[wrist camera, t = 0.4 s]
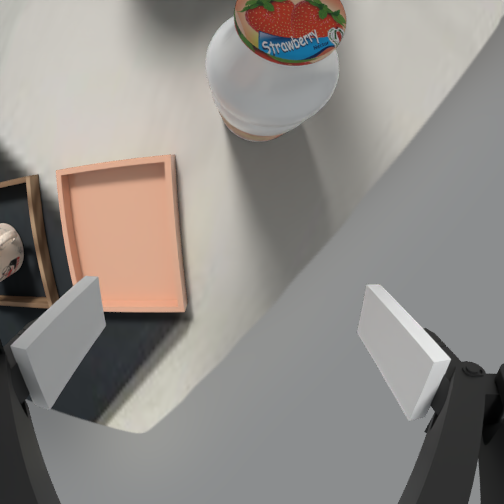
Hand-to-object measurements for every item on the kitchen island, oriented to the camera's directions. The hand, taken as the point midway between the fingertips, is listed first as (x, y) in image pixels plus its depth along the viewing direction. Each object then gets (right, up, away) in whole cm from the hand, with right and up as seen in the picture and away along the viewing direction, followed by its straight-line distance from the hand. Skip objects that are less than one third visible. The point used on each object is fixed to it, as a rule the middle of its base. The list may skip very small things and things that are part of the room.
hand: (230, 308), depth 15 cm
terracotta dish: (-17, +5, +26) cm, 32 cm away
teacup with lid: (-39, +4, +26) cm, 47 cm away
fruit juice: (+2, +21, +22) cm, 31 cm away
